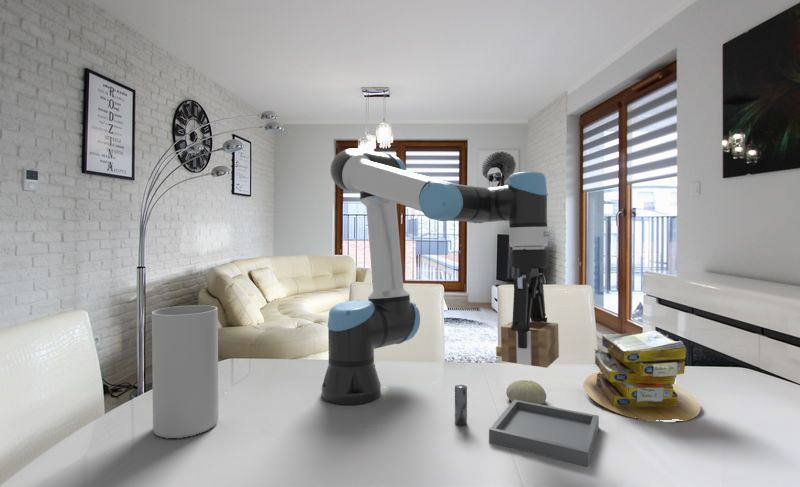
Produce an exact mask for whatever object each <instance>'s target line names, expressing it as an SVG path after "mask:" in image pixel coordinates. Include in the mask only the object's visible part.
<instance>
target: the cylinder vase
mask: <svg viewBox="0 0 800 487" xmlns="http://www.w3.org/2000/svg"><path fill="white" fill-rule="evenodd" d="M218 310H219V309H218V307H217V306H214V305H207V304H202V305H201V304H200V305H199V304H196V305H195V304H193V305H191V304H190V305H177V306H169V307H164V308H158V309H155V310H153V311H152V312H151V351H152V352H151V355H152V358H151V361H152V362H151V366H152V368H151V369H152V375H151V377H152V431H153V433H154V435H156V436H157V435H158V436H157V437H159V436H161V437H160V438H162V437H165V438H164V439H168V438H177V439H184V438H183V437H186V438H189V437H188V436H190V437H194V436H197V435H196V434H198V435H200V434H203V433H205V432H208V431H209V430H210V428H211V429H212V428H213V427H214V426H215V425H216V424H217V423H218V421H219V330H218V329H219V323H218V321H219V317H218V316H219V315H218V314H219V311H218ZM202 432H203V433H202ZM199 433H200V434H199ZM193 435H194V436H193Z"/></svg>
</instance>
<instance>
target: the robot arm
mask: <svg viewBox="0 0 800 487" xmlns="http://www.w3.org/2000/svg"><path fill="white" fill-rule="evenodd" d="M330 175H331V176H330V177H331V178H332V181H333V182H334V183H335V185H336V186H338V188H340V189H342V190H344V191H348V192H352V193H359V196H360V197H359V198H360V203H362V204H363V205H364V206H365V207H366V217H367V218H366V220H367V228H368V229H367V232H368V242H369V243H368V244H369V256H370V267H371V268H370V269H371V280H372V292H371V293H370V294H369V296H368V298H367V300H366V299H357V300H348V301H344V302H340V303H338V304H335V305H334V306H332V307H331V309H330V310H329V311H328V312H329V313H328V322H327V328H328V330H327V331H328V333H327V334H328V339H327V340H328V365H327V369H326V372H325V375H324V378H323V382H322V384H321V385H322V386H321V398H322V399H323V398H324V399H325V401H326V400H327V401H326V402H328V401H329V402H328V403H331V404H335V403H336V405H343V404H346V406H347V405H361V404H366V403H369V401H370V402H372V401H374V399H375V400H376V399H378V398H379V397H380V396H381V393H382V389H381V388H382V385H381V381H380V379H379V376H378V372H377V369H376V366H375V350H376V349H379V348H383V347H387V346H391V345H400V344H402V343H404V342H407V341H410V340H412V339H413V338H414V337H415V335H416V334H417V333H418V331H419V328H420V325H421V313H420V310H419V308H418V307H417V304H416V303H415V302H414V301H413V300H411V298H410V297H411V296H410V293H409V292H408V291H407V290H406V289H405V287H404V278H403V269H402V268H403V266H402V256H401V245H400V244H401V243H400V231H399V221H398V220H399V219H398V218H399V217H398V208H397V205H398V204H399V205H401V206H402V205H403V206H405V207H408V208H411V209H413V210H417V211H419V212H422V213H423V214H424V216H425V217H426V218H427V219H430V220H435V221H438V222H449V221H450V222H451V221H452V222H455V221H456V222H466V223H471V224H472V223H473V224H483V223H491V222H492V223H494V222H506V221H507V222H508V224H509V229H508V230H509V231H508V233H509V235H508V237H509V238H508V239H509V247H510V248H512V249H510V251H509V266H510V268H513V269H519V270H518V277H514V278H513V280H512V281H513V289H514V290H513V303H512V304H513V305H512V306H513V307H512V321H513V322H512V321H511V322H512V326H511V329H512V330H514V331H516V349H517V363H516V365H523V366H531V365H532V356H531V331H529V329H530V328H529V327H530V321H537V322H548V317H547V316H546V314H547V313H546V304H545V292H544V273H542V272H541V273H540V271H539V269H544V268H548V266H549V251H548V249H545V247H547V246H548V245H549V244H548V243H549V242H548V241H549V240H548V237H550V236H551V231H548V190H547V189H548V188H547V178H546V175H545V174H544V173H543V172H539V171H522V172H521V171H519V172H515V173H512V174H510V175H509V176H508V180H507V184H505V185H502V186H501V185H500V186H493V187H481V186H474V185H465V184H458V183H453V182H450V181H446V180H445V181H444V180H441V179H438V178H433V177H429V176H427V175H423V174H419V173H415V172H411V171H408V170H407V167H406V165H405V163H404V162H403V160H402V159H400V158H399V157H397V155H396V156H395V155H393V154H392V155H391V154H390V153H387V152H377V151H373V150H372V151H371V150H366V149H361V148H347V149H344V150H342V151H340V152H339V153H337V154H336V155H335V156H334V158H333V159H332V162H331V165H330ZM324 399H323V400H324Z"/></svg>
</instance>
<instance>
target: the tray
mask: <svg viewBox="0 0 800 487" xmlns="http://www.w3.org/2000/svg"><path fill="white" fill-rule="evenodd" d="M599 416H600V415H597V414H592V413H587V412H582V411H578V410H577V411H576V410H571V409H565V408H562V407H561V408H560V407H555V406H549V405H545V404H542V405H541V404H536V403H530V402H525V401H520V400H515V399H514V400H513V401H511V402H510V403H509V405H508V406H507V407H506V408H505V410H504V411H503V412H502V413H501V414H500V416H499V417H498V418H497V419H496V420H495V421H494V422H493V423H492V425H491V426H490V428H488V442H489V443H492V444H496V445H500V446H504V447H507V448H512V449H515V450H519V451H520V450H521V451H524V452H528V453H530V454H531V453H532V454H535V455H540V456H545V457H547V458H552V459H556V460H560V461H564V462H568V463H571V464H575V465H579V466H584V467H589V463H590V460H591V456H592V452H593V450H594V445H595V442H596V438H597V434H598V430H599V428H600V427H599V423H600V422H599V419H600V418H599Z"/></svg>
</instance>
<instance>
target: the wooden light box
mask: <svg viewBox="0 0 800 487" xmlns="http://www.w3.org/2000/svg"><path fill="white" fill-rule="evenodd" d="M512 322H513V320H512V321H509V322H508V323H505V324H504V325H502V326H500V344H498V345H496V347H495V350H496V352H495V354H496V357H500V358H501V362H504V363H512V364H517V349H516V331H514V330H512V329H511V326H512ZM529 328H530V329H529V331H531V356H532V365H530V366H533V367H538V368H539V367H540V368H546V369H547V368H548V367H549V366H551V365H552V364H553V363H554V362H555V361H556V360H557V359H558V358H560V352H559V348H560V346H559V344H560V343H559V323H558V322H548V321H547V322H537V321H531V320H530V327H529Z"/></svg>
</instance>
